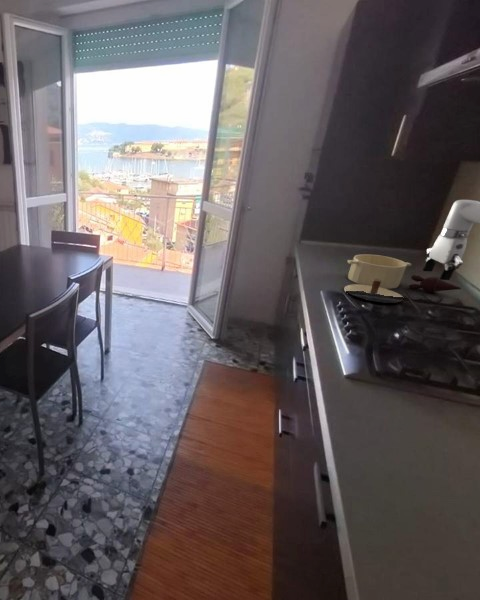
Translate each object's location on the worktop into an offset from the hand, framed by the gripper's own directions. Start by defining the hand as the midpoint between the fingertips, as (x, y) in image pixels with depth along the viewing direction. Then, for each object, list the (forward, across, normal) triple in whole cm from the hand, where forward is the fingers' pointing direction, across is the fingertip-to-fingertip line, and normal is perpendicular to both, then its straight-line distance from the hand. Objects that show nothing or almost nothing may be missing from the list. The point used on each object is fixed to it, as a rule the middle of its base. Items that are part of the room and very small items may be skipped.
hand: (435, 275), depth 143 cm
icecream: (+7, -1, -1) cm, 7 cm away
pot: (+7, +10, +16) cm, 20 cm away
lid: (+7, -8, +25) cm, 27 cm away
